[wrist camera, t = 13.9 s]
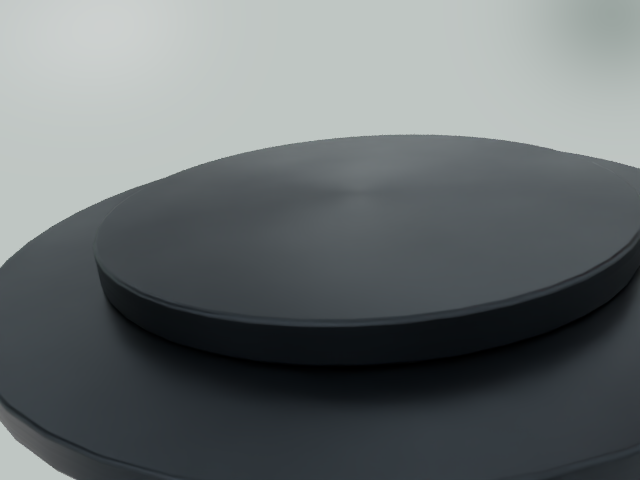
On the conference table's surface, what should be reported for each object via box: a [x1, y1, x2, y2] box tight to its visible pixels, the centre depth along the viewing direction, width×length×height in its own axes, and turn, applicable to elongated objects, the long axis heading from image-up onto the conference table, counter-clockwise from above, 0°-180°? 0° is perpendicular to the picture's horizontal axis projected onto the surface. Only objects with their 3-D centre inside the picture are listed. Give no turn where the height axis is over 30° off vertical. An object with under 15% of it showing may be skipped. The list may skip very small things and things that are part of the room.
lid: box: [0, 135, 640, 480], centre depth 12 cm, size 12×12×9 cm
